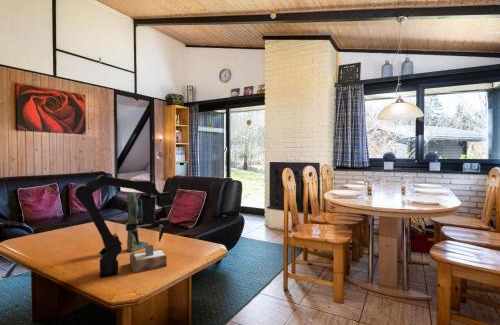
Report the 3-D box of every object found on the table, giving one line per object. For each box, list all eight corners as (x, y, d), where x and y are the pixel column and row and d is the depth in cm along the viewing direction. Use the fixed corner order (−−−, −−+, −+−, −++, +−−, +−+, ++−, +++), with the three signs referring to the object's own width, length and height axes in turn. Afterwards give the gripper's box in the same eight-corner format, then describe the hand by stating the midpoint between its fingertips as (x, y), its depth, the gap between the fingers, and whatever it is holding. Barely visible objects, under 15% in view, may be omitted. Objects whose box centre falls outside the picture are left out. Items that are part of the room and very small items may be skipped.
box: (132, 272, 120) (132, 262, 120) (130, 263, 131) (129, 253, 131) (166, 266, 127) (166, 256, 126) (161, 257, 137) (161, 248, 137)
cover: (136, 262, 122) (135, 250, 122) (134, 256, 130) (133, 245, 130) (165, 257, 128) (164, 246, 128) (161, 251, 136) (161, 241, 135)
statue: (149, 246, 156) (147, 191, 155) (131, 252, 146) (130, 193, 146) (140, 244, 159) (139, 190, 159) (123, 250, 150) (121, 193, 149)
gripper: (165, 204, 140) (166, 236, 140) (124, 207, 131) (125, 241, 132) (170, 207, 130) (171, 241, 130) (126, 211, 121) (126, 248, 122)
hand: (148, 243), depth 129 cm, fingers open, 9 cm apart
